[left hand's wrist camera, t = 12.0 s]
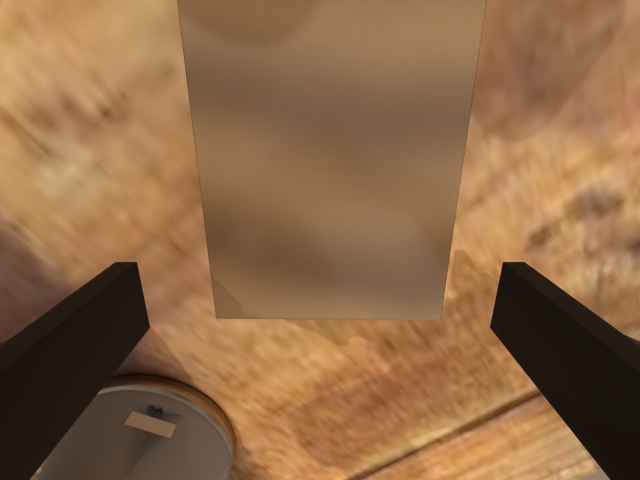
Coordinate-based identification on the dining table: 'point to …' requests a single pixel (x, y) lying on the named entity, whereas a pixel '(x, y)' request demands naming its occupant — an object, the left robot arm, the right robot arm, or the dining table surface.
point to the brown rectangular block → (330, 151)
